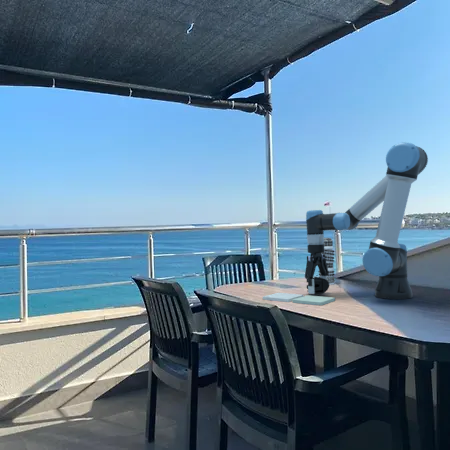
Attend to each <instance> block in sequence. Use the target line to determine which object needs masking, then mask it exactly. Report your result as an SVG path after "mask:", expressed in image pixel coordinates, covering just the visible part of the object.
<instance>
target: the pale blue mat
mask: <svg viewBox="0 0 450 450" xmlns="http://www.w3.org/2000/svg"><path fill="white" fill-rule="evenodd" d="M303 296H304V294H297V293H286V292H276V293H273V294H269V295H264V296H262V300H266V301H273V302H274V301H275V302H284V303H291V302H292V300H293V299H296V298H300V297H303Z"/></svg>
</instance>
